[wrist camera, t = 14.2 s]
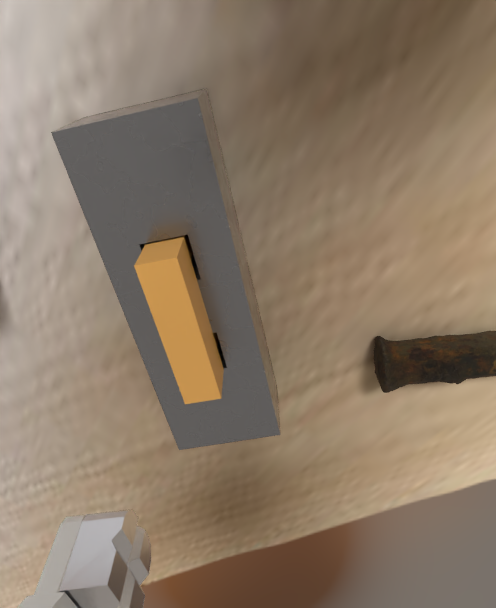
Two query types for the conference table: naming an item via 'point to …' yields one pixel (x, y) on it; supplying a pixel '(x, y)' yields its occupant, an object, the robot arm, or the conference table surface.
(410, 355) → the hand tool
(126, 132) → the grey slotted block
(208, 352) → the orange slab
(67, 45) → the conference table surface
